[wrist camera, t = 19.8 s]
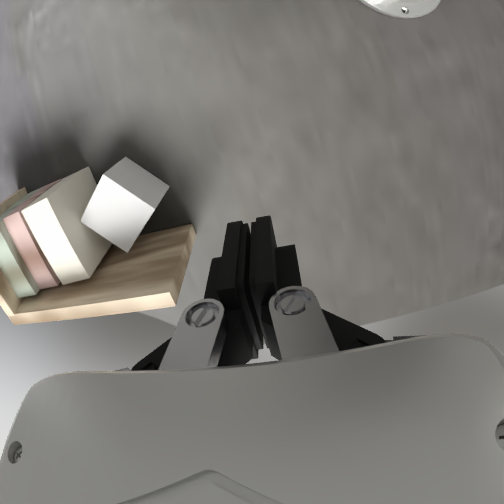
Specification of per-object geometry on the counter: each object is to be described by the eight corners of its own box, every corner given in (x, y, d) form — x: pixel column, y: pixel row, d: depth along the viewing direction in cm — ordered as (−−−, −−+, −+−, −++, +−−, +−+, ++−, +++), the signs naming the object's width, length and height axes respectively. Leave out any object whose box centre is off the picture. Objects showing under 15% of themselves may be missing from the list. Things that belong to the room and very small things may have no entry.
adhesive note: (125, 156, 30) (103, 173, 25) (170, 185, 32) (155, 208, 27) (102, 198, 33) (80, 221, 28) (144, 225, 35) (127, 253, 30)
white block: (64, 177, 31) (21, 210, 24) (88, 166, 31) (46, 197, 23) (94, 241, 36) (62, 284, 28) (119, 233, 35) (89, 277, 28)
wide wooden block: (18, 190, 31) (-40, 236, 21) (163, 132, 29) (117, 166, 19) (55, 266, 38) (13, 324, 28) (196, 235, 35) (175, 305, 25)
